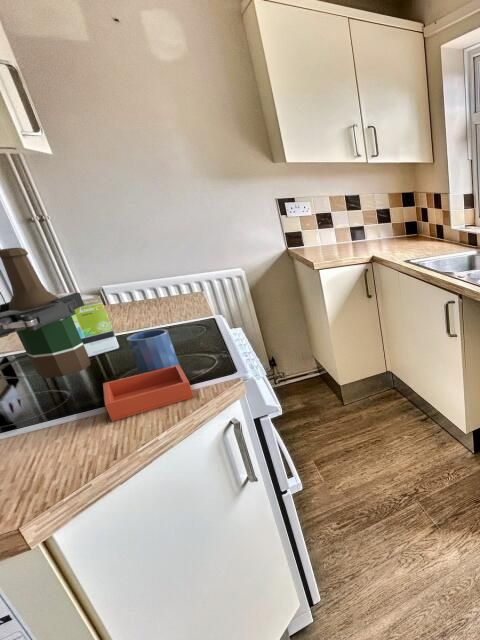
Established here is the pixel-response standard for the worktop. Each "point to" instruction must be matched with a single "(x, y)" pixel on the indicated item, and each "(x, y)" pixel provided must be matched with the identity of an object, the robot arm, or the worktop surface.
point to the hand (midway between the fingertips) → (56, 300)
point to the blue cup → (152, 350)
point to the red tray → (146, 392)
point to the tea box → (93, 325)
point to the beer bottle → (52, 339)
